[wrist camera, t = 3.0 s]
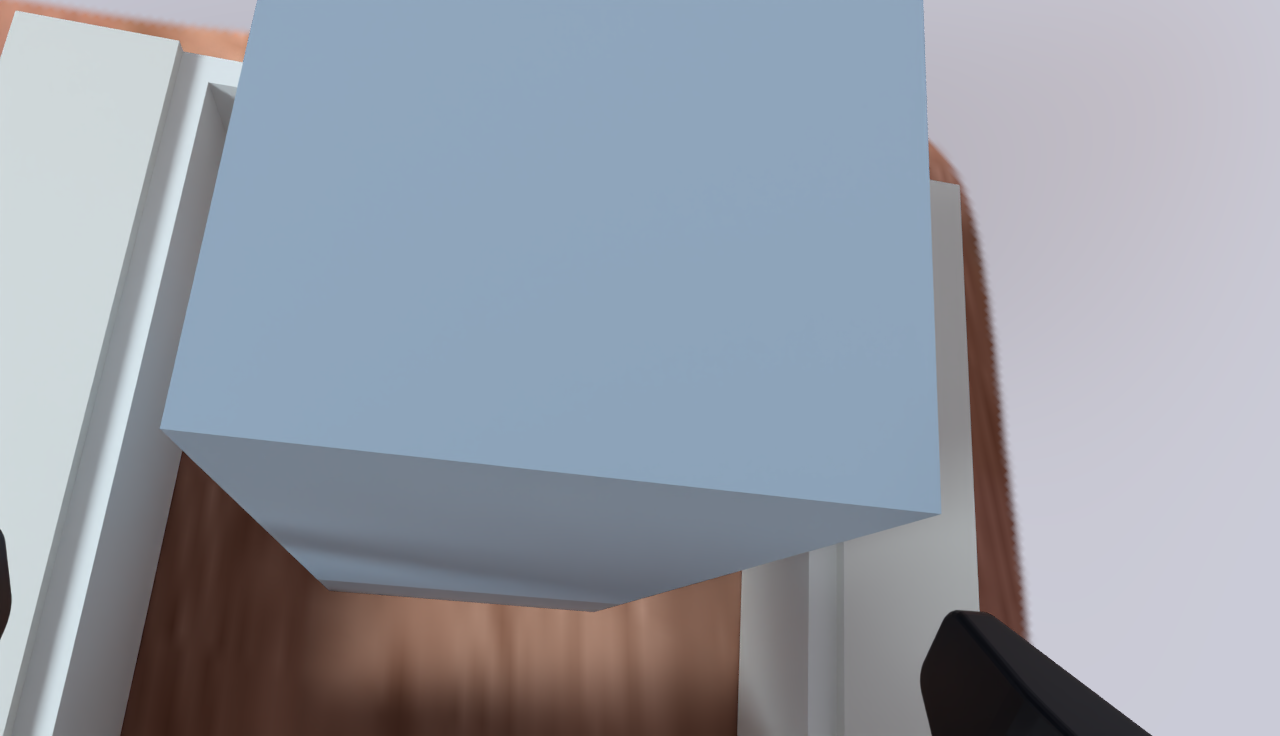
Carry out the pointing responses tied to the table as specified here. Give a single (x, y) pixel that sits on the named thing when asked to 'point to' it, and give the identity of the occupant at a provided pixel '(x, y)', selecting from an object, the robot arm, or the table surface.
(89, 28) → the carton
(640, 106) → the box
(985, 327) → the table surface
